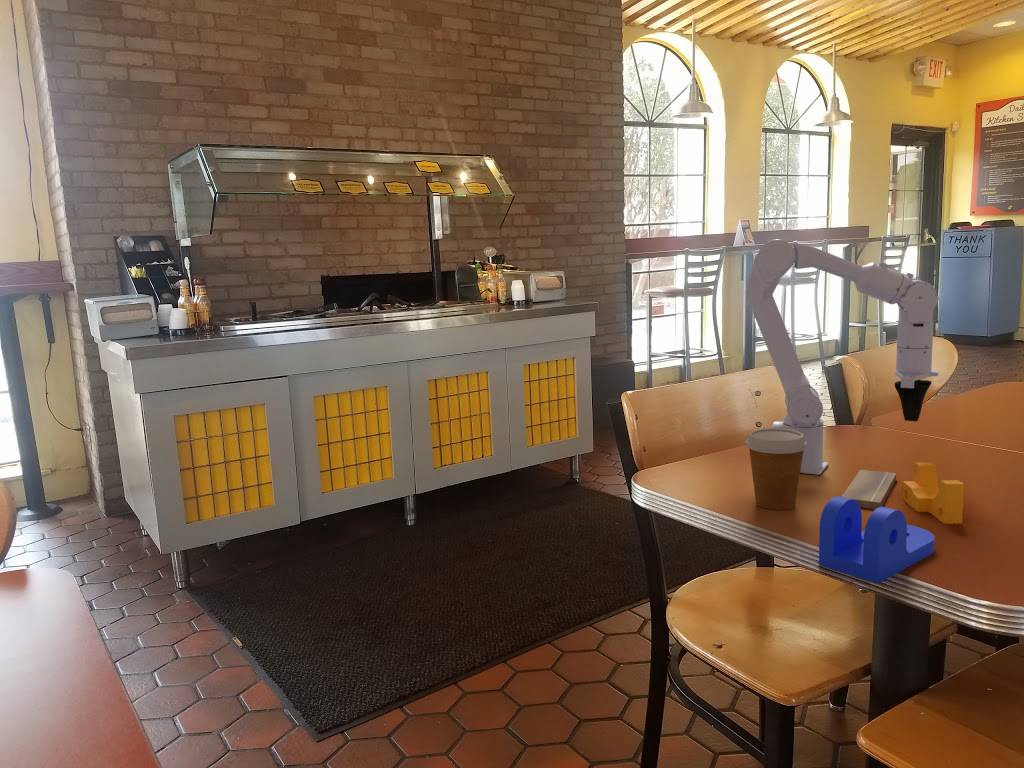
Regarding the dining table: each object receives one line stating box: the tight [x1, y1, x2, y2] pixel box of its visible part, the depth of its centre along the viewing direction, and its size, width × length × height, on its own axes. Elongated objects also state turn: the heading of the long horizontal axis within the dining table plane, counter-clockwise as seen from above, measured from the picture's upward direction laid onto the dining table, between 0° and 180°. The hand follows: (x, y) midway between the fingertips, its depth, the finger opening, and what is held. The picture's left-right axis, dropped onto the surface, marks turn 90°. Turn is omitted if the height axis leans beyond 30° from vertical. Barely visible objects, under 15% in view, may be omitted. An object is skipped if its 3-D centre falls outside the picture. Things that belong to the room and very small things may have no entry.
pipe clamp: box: [901, 461, 965, 525], centre depth 125 cm, size 12×4×6 cm, turn 174°
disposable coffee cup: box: [745, 428, 807, 511], centre depth 131 cm, size 10×10×12 cm
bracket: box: [818, 495, 936, 584], centre depth 108 cm, size 18×8×9 cm, turn 127°
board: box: [841, 469, 897, 510], centre depth 136 cm, size 6×18×1 cm, turn 147°
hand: (911, 420), depth 144 cm, fingers closed
